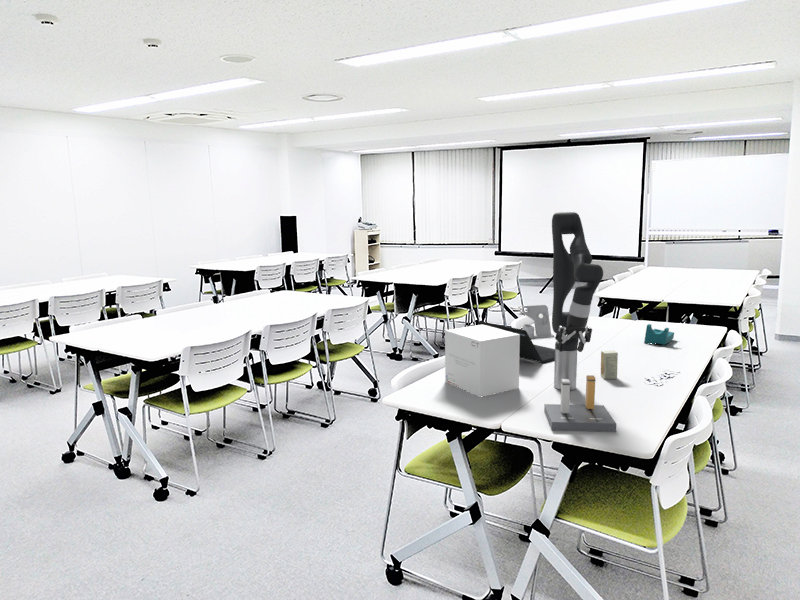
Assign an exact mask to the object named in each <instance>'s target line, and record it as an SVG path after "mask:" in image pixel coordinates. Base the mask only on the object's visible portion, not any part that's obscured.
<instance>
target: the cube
mask: <svg viewBox="0 0 800 600" xmlns="http://www.w3.org/2000/svg"><path fill="white" fill-rule="evenodd" d="M519 351H520V334H516V333H513V332H509V331H505V330H502V329H498V328H494V327H490V326H487V325H483V324H482V325H479V324H477V325H472V326H471V325H470V326H464V327H463V326H462V327H457V328H451V329H446V330H444V356H445V357H444V360H445V361H444V368H445V369H444V370H445V372H444V374H445V375H444V379H445V380H444V381H445V382H444V383H446V384H449V385H451V384H452V385H451V386H453V385H454V387H455V386H457V387H456V388H458V387H459V388H458V389H460V388H461V389H460V390H462V389H463V390H462V391H464V390H466V391H465V392H467V391H468V392H467V393H469V392H470V394H471V393H472V394H471V395H473V394H475V395H477V396H476V397H478V396H479V397H478V398H482V397H481V396H485V397H487V396H486V395H489V396H491V395H490V394H493V395H495V394H494V393H497V394H500V393H499V392H501V393H504V391H506V392H508V391H509V390H510V391H513V389H514V390H518V389H519V388H520V357H519ZM510 391H509V392H510ZM475 395H474V396H475Z"/></svg>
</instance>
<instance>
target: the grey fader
mask: <svg viewBox="0 0 800 600" xmlns="http://www.w3.org/2000/svg"><path fill="white" fill-rule="evenodd" d="M570 391H571V390H570V381H569V379H561V390H560V404H561V412H562V413H569V405H570V395H571V394H570V393H571V392H570Z"/></svg>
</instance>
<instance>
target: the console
mask: <svg viewBox="0 0 800 600" xmlns="http://www.w3.org/2000/svg"><path fill="white" fill-rule="evenodd" d="M585 405H586V404H569V413H562V412H561V403H560V404H559V403H558V404H555V403H551V404H550V403H545V404H544V406H543V407H544V411H543V413H544V414H545V417H546V420H547V423H548V426H549V427H551V428H550V430H551V431H574V432H575V431H577V432H607V433H608V432H610V433H611V432H613V433H616V432H617V423H616V421H615V419H614V418H613V417H612V415H611V414H610V411H608V409H607V408H606V407H605V405H603V404H602V405H601V404H600V405H599V404H598V405H597V404H594V409H587V408H586V406H585Z"/></svg>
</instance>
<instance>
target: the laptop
mask: <svg viewBox="0 0 800 600" xmlns="http://www.w3.org/2000/svg"><path fill="white" fill-rule="evenodd" d="M482 324H483V325H487V326H490V327H494V328H498V329H502V330H505V331H509V332H513V333H516V334H520V351H519V358H523V359H527V360H530V361H534V362H538V363H545V362H550V361H553V360H554V361H555V348H552V347H547V346H543V345H538V344H534V342H533V341H532V338H530V337H529V335H528V333H527V332H526V330H523V328H522V329H521V328H516V327H512V326H505V325H501V324H497V323H489V322H485V321H481V320H478V321H477V325H482Z"/></svg>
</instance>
